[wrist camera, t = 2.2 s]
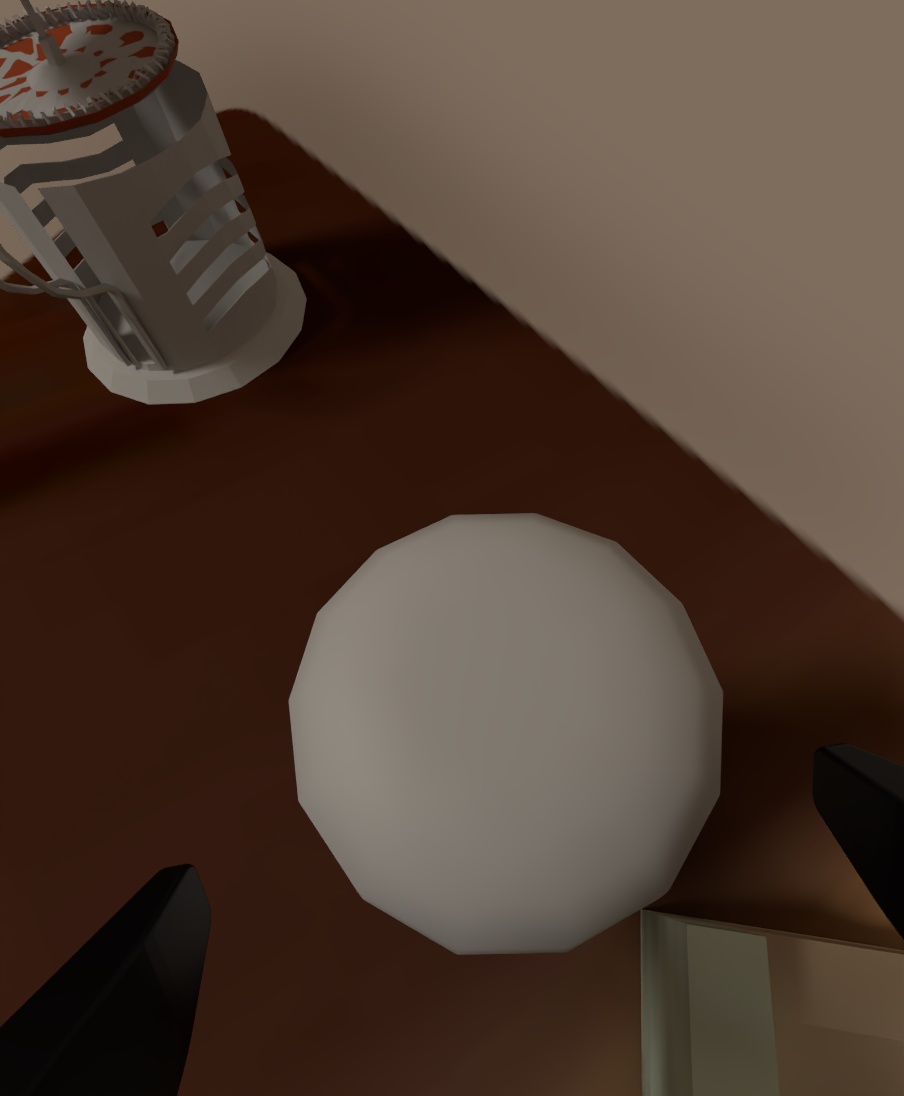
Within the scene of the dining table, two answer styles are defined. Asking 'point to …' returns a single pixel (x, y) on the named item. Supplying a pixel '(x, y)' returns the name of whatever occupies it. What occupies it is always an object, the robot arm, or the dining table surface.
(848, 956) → the maple tray
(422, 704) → the salt shaker
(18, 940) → the dining table surface
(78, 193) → the french press
